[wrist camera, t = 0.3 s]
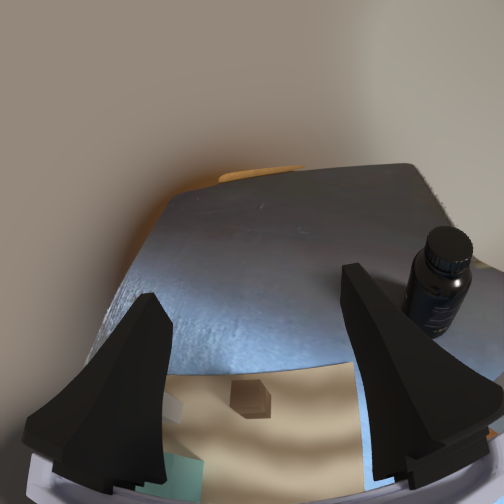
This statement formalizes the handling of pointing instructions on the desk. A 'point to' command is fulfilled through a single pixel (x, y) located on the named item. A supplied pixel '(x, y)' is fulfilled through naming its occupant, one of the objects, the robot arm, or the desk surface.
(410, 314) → the supplement bottle
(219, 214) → the desk surface
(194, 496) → the teal green block
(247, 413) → the walnut post
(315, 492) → the board
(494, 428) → the skincare box
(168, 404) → the grey post
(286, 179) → the desk surface
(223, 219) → the desk surface
